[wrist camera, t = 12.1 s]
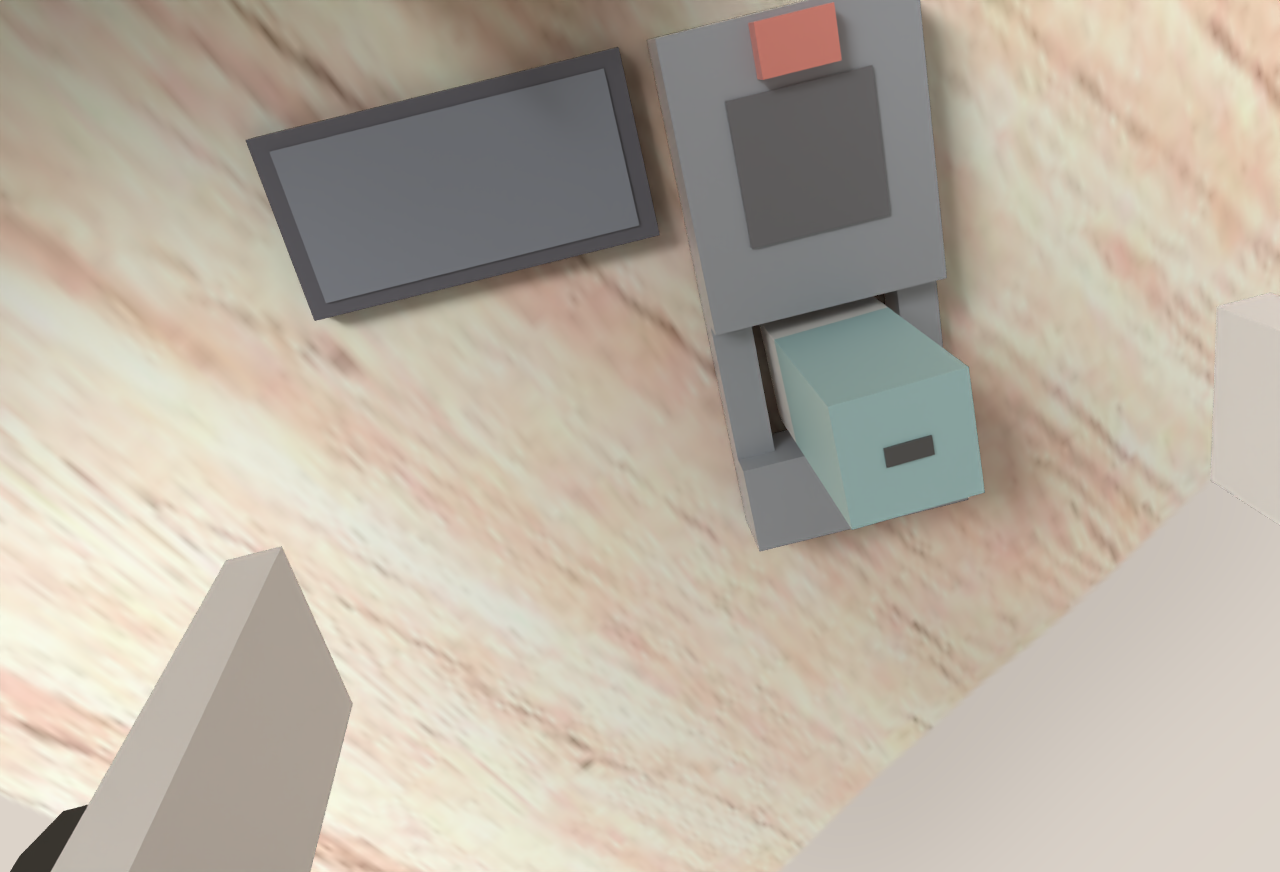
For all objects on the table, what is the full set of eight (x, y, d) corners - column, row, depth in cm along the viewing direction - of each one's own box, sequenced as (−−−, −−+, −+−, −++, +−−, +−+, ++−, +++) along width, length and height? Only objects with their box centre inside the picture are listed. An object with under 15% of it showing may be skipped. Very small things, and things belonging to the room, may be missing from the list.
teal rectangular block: (780, 418, 35) (852, 531, 27) (758, 320, 34) (828, 407, 25) (881, 389, 35) (986, 493, 27) (864, 289, 34) (969, 367, 25)
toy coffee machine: (646, 39, 30) (658, 38, 27) (888, -21, 30) (927, -29, 27) (746, 520, 37) (764, 562, 34) (941, 471, 37) (977, 509, 34)
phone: (320, 313, 32) (314, 321, 31) (253, 137, 30) (244, 140, 29) (656, 230, 32) (659, 235, 31) (616, 47, 30) (618, 47, 29)
